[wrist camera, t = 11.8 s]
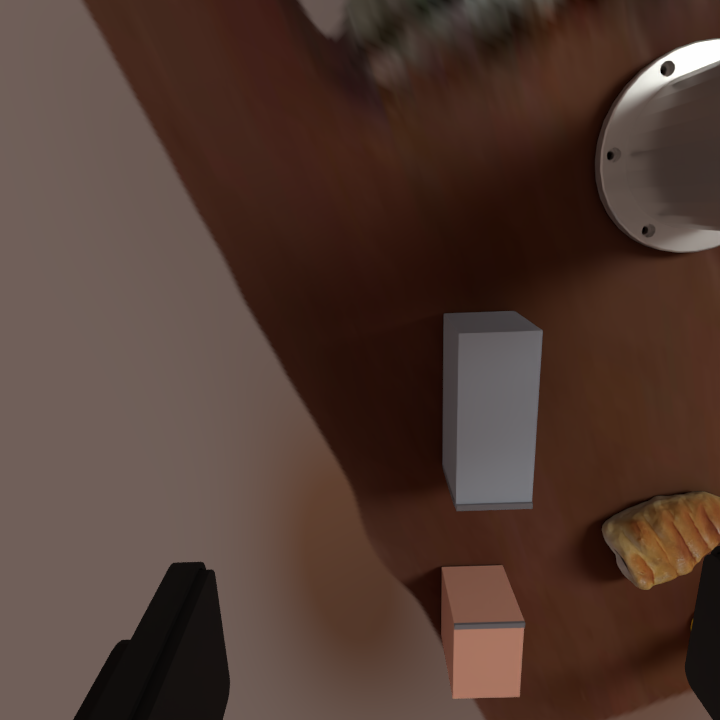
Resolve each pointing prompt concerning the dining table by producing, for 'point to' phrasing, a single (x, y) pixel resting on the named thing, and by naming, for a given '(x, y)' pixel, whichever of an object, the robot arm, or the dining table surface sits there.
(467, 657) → the stub
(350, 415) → the dining table surface
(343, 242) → the dining table surface
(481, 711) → the dining table surface
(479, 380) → the block
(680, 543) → the pastry
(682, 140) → the robot arm
